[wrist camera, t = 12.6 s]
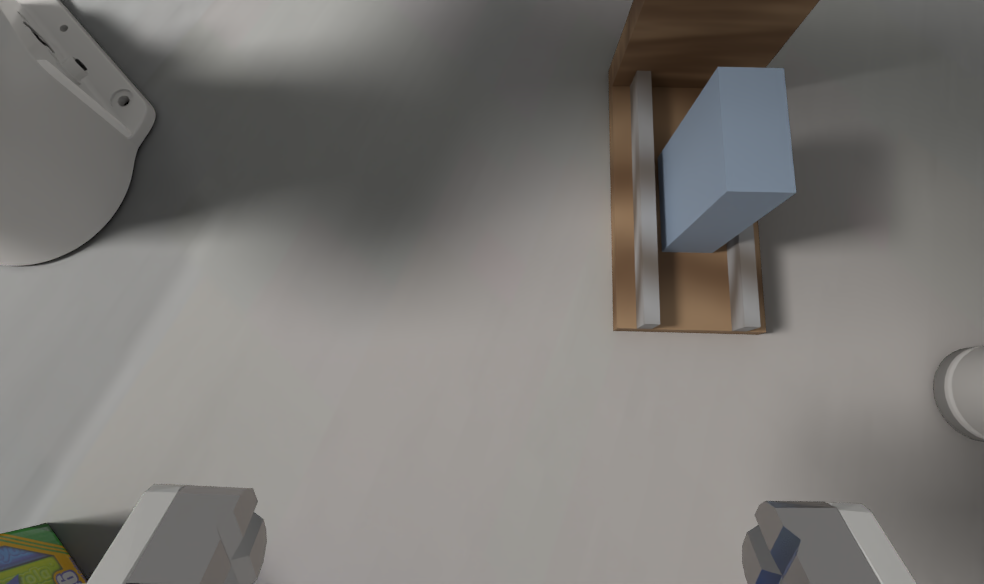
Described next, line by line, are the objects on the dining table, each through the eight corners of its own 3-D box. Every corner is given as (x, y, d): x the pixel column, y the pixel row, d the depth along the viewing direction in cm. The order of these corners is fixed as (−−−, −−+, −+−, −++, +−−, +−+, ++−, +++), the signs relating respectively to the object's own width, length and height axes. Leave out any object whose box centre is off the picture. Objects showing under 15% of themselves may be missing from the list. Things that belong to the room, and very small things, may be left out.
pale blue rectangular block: (712, 252, 40) (796, 192, 29) (661, 252, 40) (726, 191, 29) (706, 158, 41) (783, 68, 30) (657, 157, 41) (717, 66, 30)
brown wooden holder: (757, 334, 40) (888, 295, 27) (613, 330, 40) (674, 290, 27) (739, 74, 44) (844, -67, 31) (608, 71, 44) (659, -73, 31)
